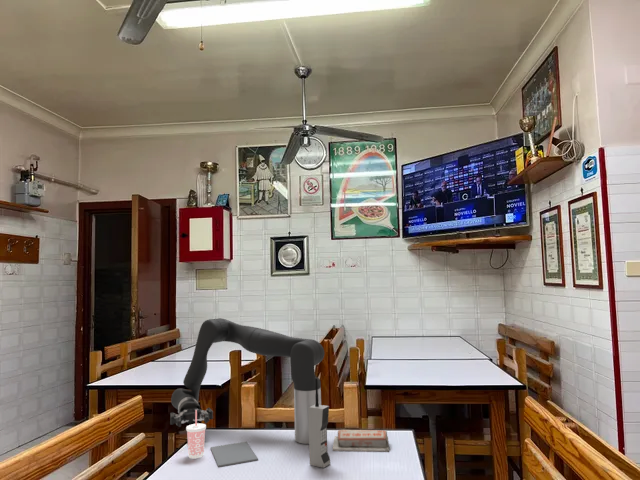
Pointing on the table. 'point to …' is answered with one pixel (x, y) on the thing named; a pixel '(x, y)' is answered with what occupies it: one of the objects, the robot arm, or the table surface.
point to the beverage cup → (196, 439)
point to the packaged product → (361, 441)
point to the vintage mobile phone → (318, 433)
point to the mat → (233, 454)
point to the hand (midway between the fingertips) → (193, 421)
